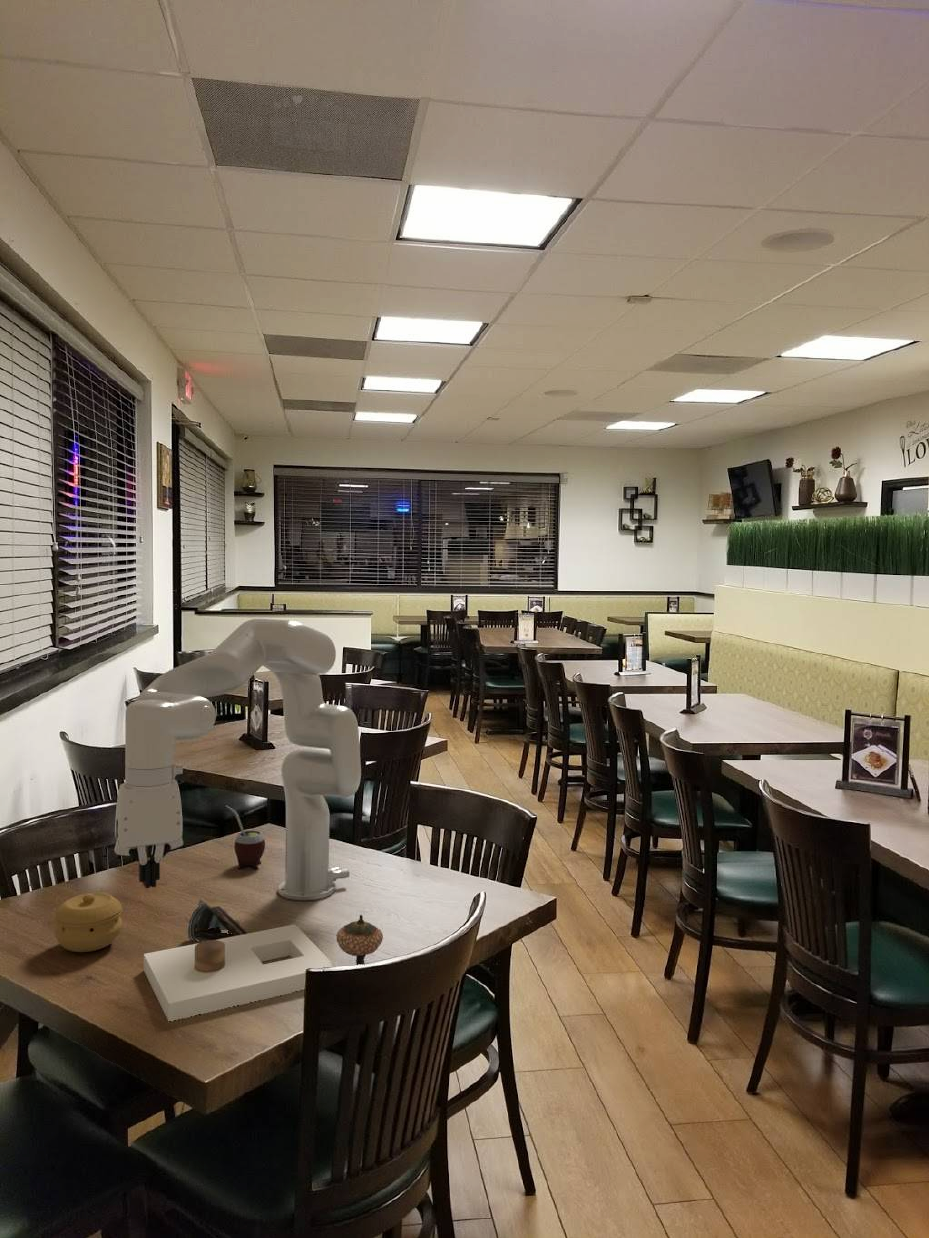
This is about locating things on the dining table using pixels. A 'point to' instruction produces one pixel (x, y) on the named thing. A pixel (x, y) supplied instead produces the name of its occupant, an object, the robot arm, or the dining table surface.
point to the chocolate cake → (212, 923)
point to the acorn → (359, 939)
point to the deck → (233, 972)
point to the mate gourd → (248, 846)
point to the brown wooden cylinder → (209, 956)
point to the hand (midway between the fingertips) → (149, 884)
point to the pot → (88, 922)
